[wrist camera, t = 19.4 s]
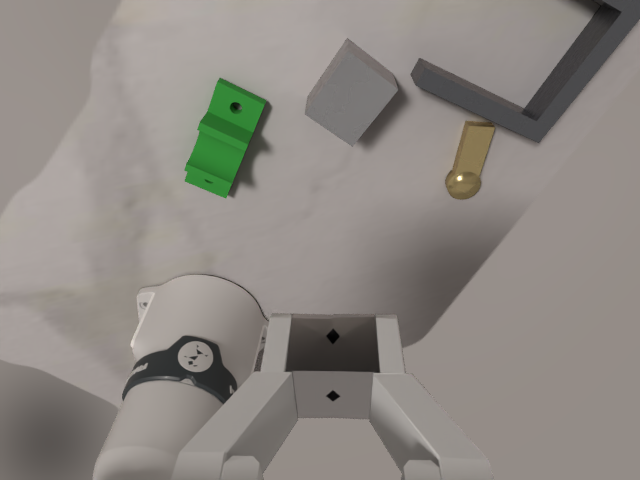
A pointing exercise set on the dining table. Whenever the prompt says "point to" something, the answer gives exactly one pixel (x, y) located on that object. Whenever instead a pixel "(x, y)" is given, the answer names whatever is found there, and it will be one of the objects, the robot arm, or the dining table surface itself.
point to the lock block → (350, 93)
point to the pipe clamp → (223, 138)
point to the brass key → (469, 159)
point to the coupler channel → (558, 89)
